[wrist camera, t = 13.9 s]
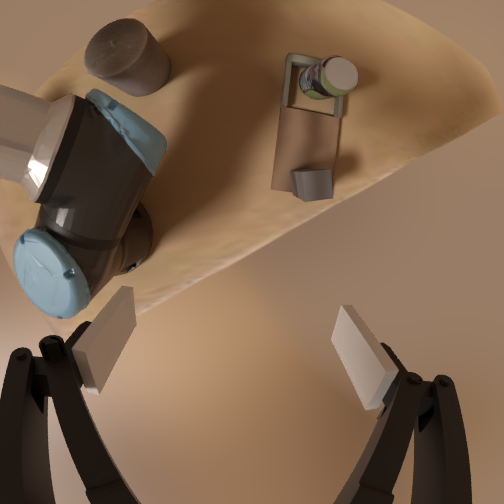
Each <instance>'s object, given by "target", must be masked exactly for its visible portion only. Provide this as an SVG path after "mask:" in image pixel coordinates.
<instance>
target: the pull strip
mask: <svg viewBox="0 0 504 504" xmlns="http://www.w3.org/2000/svg"><path fill="white" fill-rule="evenodd" d="M319 61H321V60H320V59H316V58H311V57H307V56H302V55H297V54H292V53H288V54H287V56H286V64H285V73H284V82H283V91H282V100H281V108H280V117H279V126H278V134H277V143H276V151H275V159H274V167H273V176H272V184H271V190H279V191H287V192H293V195H294V196H296V197H297V198H299V199H301V200H303V201H305V202H308V201H315V200H323V199H332V198H333V190H332V179H333V172H334V165H335V157H336V148H337V139H338V130H339V120H340V118H341V117H342V109H343V96H344V95H340V96H335V108H334V117H333V116H328V115H324V114H319V113H314V112H310V111H304V110H299V109H293V108H288V107H287V103H288V94H289V85H290V75H291V66H292V65H293V66H298V67H303V68H309V67H310V66H312V65H314V64H315V63H317V62H319Z"/></svg>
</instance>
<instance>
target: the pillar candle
mask: <svg viewBox="0 0 504 504" xmlns="http://www.w3.org/2000/svg"><path fill="white" fill-rule="evenodd" d="M84 63H85V66H86V69H87V72H88V73H90V74H91V75H92V76H95V77H98V78H100V79H102V80H104V81H105V82H107V83H109V84H111V85H113V86H115V87H116V88H118V89H120V90H122V91H124V92H126V93H127V94H130V95H132V96H136V97H140V96H145V95H148V94H151V93H153V92H155V91H157V90H158V89H160V88H161V87H162V86H163V85H164V83H165V82H166V81H167V79H168V77H169V74H170V70H171V62H170V59H169V57H168V56H167V54H166V53H165V52H164V50H163V49H162V48H161V46H160V45H159V43H158V42H157V41H156V40H155V38H154V37H153V36H152V34H151V33H150V32H149V31H148V29H147V28H146V27H145V25H144V24H142V23H141V22H140V21H138V20H136V19H128V18H126V19H120V20H116V21H114V22H112V23H109V24H107V25H106V26H105V27H103V28H102V29H100V30H99V31H98V32H97V33H96V34H95V35H94V36H93V38H92V39H91V41H90V42H89V44H88V46H87V48H86V51H85V57H84Z"/></svg>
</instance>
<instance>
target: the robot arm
mask: <svg viewBox="0 0 504 504" xmlns="http://www.w3.org/2000/svg"><path fill="white" fill-rule="evenodd" d="M85 98H86V99H83V98H81V97H79V96H76V95H74V94H69V95H67V96H64V97H62V98H60V99H58V100H56V101H53V102H50V101H47V100H45V99H42V98H39V97H36V96H33V95H30V94H27V93H25V92H22V91H19V90H16V89H13V88H9V87H6V86H3V85H0V179H4V180H9V181H13V182H17V183H20V184H21V185H22V186H23V187H24V188H25V191H26V193H27V195H28V197H29V199H30V201H31V202H35V203H40V204H41V206H40V210H39V213H38V217H37V220H36V224H35V226H34V228H32V229H27V230H26V231H25V232H24V233H23V234H22V235H21V236H20V237H19V238H18V239H17V241H16V244H15V246H14V251H13V263H14V269H15V273H16V276H17V279H18V281H19V283H20V285H21V287H22V289H23V291H24V293H25V294H26V296H27V297H28V298H29V299H30V301H31V302H32V303H33V304H34V305H35V306H36V307H37V308H38V309H39V310H41V311H42V312H44V313H45V314H47V315H49V316H51V317H54V318H58V319H63V318H66V319H68V318H71V317H74V316H75V315H76V314H78V313H79V312H80V311H81V310H83V309H85V308H86V307H87V306H88V304H89V303H90V301H91V300H92V299H93V298H94V297H95V296H96V295H97V293H98V292H99V291H100V290H101V289H102V288H103V287H104V286H105V285H106V284H107V283H108V282H109V281H110V280H111V279H112V278H113V277H114V276H118V275H123V274H126V273H129V272H131V271H132V270H134V269H135V268H137V267H138V266H139V265H140V264H141V263H142V262H143V260H144V259H145V258H146V256H147V255H148V253H149V251H150V248H151V244H152V237H153V232H152V225H151V221H150V218H149V215H148V213H147V211H146V210H145V208H144V207H143V205H142V204H141V203H140V202H139V201H140V199H141V197H142V195H143V193H144V191H145V189H146V187H147V185H148V184H149V182H150V180H151V178H152V177H154V176H155V174H156V169H157V167H158V165H159V163H160V161H161V159H162V157H163V155H164V153H165V151H166V147H167V142H166V139H165V137H164V135H163V134H162V133H161V132H160V131H159V130H157V129H156V128H155V127H154V126H152V125H151V124H150V123H148V122H147V121H146V120H144V119H143V118H141V117H140V116H139V115H137V114H136V113H134V112H133V111H131V110H130V109H128V108H127V107H125V106H124V105H122V104H120V103H118V102H117V101H116V100H114V99H113V98H111V97H110V96H108V95H107V94H105V93H103V92H102V91H100V90H98V89H92V90H91V91H90V92H89V93H87V94H86V96H85ZM135 326H136V316H135V306H134V294H133V287H126V286H122V287H121V288H120V289H119V290H118V291H117V292H116V294H115V295H114V296H113V297H112V298H111V300H110V301H109V302H108V303H107V304H106V306H105V307H104V308H103V309H102V310H101V312H100V313H99V314H98V315H97V317H96V318H95V319H94V320H93V322H89V321H85V322H84V323H82V324H80V325H79V326H78V327H77V329H76V330H75V332H73V333H72V335H71V336H70V337H69V338H68V340H67V341H66V342H65V343H64V341H63V339H62V338H61V337H60V336H57V335H50V336H46V337H44V338H43V339H42V340H41V341H40V342H39V348H40V351H41V353H42V356H43V357H34V356H33V355H32V352H31V351H30V350H29V349H28V348H24V347H22V348H18V349H16V350H14V351H13V352H12V353H11V355H10V359H9V362H8V366H7V370H6V374H5V379H4V383H3V388H2V393H1V398H0V504H56V503H55V498H54V492H53V487H52V480H51V471H50V462H49V449H48V423H47V422H48V421H47V420H48V419H47V417H48V397H52V399H53V403H54V407H55V410H56V414H57V417H58V420H59V424H60V427H61V430H62V432H63V435H64V438H65V441H66V444H67V446H68V449H69V452H70V454H71V457H72V459H73V461H74V464H75V465H76V468H77V471H78V473H79V475H80V477H81V479H82V481H83V483H84V485H85V487H86V495H87V497H88V499H89V501H90V503H91V504H141V503H140V502H139V500H138V499H137V497H136V496H135V495H134V493H133V491H132V490H131V488H130V487H129V485H128V484H127V482H126V481H125V479H124V478H123V476H122V474H121V473H120V471H119V469H118V468H117V466H116V464H115V462H114V461H113V459H112V457H111V455H110V453H109V452H108V450H107V448H106V446H105V444H104V442H103V440H102V438H101V436H100V434H99V432H98V430H97V428H96V426H95V423H94V421H93V419H92V417H91V415H90V412H89V410H88V407H87V405H86V402H85V400H84V397H83V395H82V393H81V390H80V388H81V387H82V385H83V384H84V386H85V389H86V391H87V392H90V393H94V394H97V395H100V393H101V391H102V389H103V387H104V385H105V383H106V381H107V379H108V377H109V375H110V373H111V371H112V369H113V367H114V365H115V363H116V361H117V359H118V357H119V356H120V354H121V351H122V350H123V348H124V346H125V344H126V343H127V341H128V339H129V337H130V335H131V333H132V332H133V330H134V328H135ZM331 340H332V342H333V344H334V347H335V349H336V350H337V352H338V354H339V357H340V358H341V361H342V362H343V365H344V367H345V368H346V371H347V373H348V375H349V377H350V379H351V381H352V383H353V385H354V387H355V389H356V392H357V394H358V396H359V398H360V400H361V402H362V404H363V406H364V408H365V410H370V409H376V408H378V407H379V405H380V403H381V402H382V401H383V402H384V405H385V406H384V408H383V410H382V411H381V413H380V414H379V416H378V417H377V419H378V422H377V424H376V426H375V428H374V431H373V433H372V435H371V437H370V439H369V442H368V443H367V445H366V448H365V449H364V452H363V454H362V455H361V458H360V459H359V461H358V463H357V465H356V467H355V469H354V470H353V472H352V474H351V476H350V478H349V479H348V481H347V482H346V484H345V486H344V487H343V489H342V491H341V492H340V494H339V495H338V497H337V499H336V500H335V502H334V503H333V504H392V503H393V500H394V495H393V494H392V489H393V487H394V485H395V483H396V480H397V477H398V475H399V472H400V469H401V467H402V464H403V461H404V458H405V455H406V452H407V449H408V446H409V442H410V439H411V436H412V432H413V429H414V473H413V487H412V497H411V504H472V491H471V474H470V463H469V455H468V448H467V441H466V435H465V429H464V424H463V419H462V414H461V409H460V405H459V401H458V397H457V393H456V389H455V385H454V382H453V381H452V379H451V378H450V377H448V376H446V375H437V376H436V377H435V379H434V381H433V382H430V381H423V379H422V378H421V377H420V376H419V375H418V374H416V373H413V372H408V371H407V370H406V369H405V367H404V366H403V364H401V362H400V360H399V359H397V356H396V355H395V354H394V352H393V351H392V350H391V348H390V347H389V346H387V345H386V344H385V343H379V341H378V340H377V339H376V337H375V336H374V335H373V333H372V332H371V330H370V329H369V328H368V326H367V325H366V324H365V322H364V321H363V320H362V318H361V317H360V316H359V314H358V313H357V312H356V310H355V309H354V308H353V306H352V305H341V308H340V312H339V315H338V318H337V322H336V325H335V328H334V332H333V335H332V338H331Z"/></svg>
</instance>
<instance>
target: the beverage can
mask: <svg viewBox="0 0 504 504" xmlns="http://www.w3.org/2000/svg"><path fill="white" fill-rule="evenodd" d="M357 82H358V71H357V69H356V67H355V66H354V64H353V63H352V62H350V61H349V60H347V59H345V58H343V57H340V56H328V57H326V58H324V59H322V60H321V61H319V62H317V63H315V64H314V65H312V66H310V67H309V68H307V69H305V70H304V71H303V72H302V73H301V75H300V78H299V85H300V88H301V90H302V91H303V93H304V94H305V95H307V96H308V97H310V98H312V99H316V100H320V99H325V98H330V97H335V96H340V95H345V94H348V93H350V92H352V91H353V90H354V88H355V87H356V85H357Z"/></svg>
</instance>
